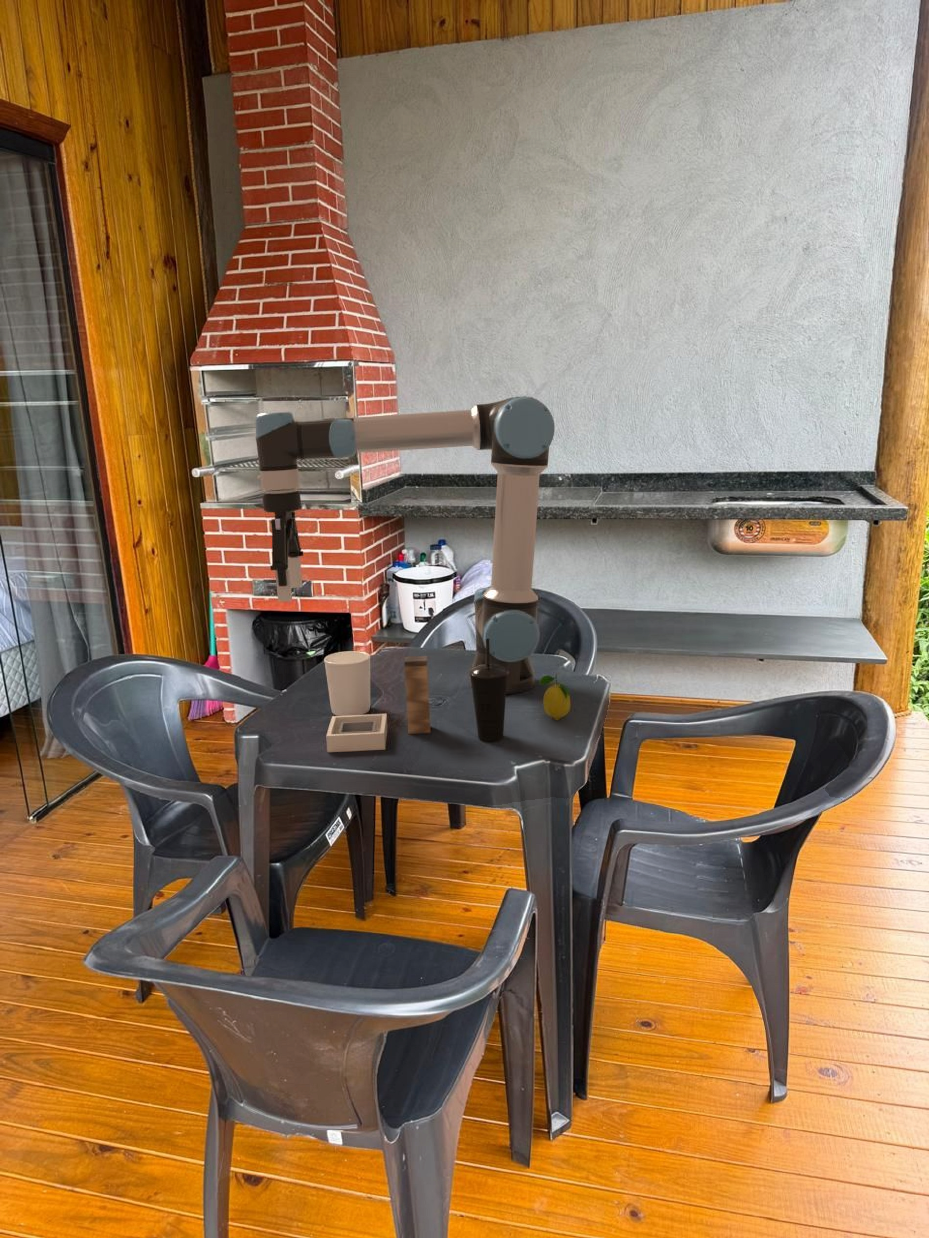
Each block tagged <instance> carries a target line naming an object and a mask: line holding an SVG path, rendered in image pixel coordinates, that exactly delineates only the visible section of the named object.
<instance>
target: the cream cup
mask: <svg viewBox="0 0 929 1238" xmlns="http://www.w3.org/2000/svg"><path fill="white" fill-rule="evenodd" d="M323 662H324V666H325V667H324V668H325V674H326V681H327V683H326V684H327V688H328V696H329V701H330V702H329V703H330V709H331V713H332V715H333V716H334V715H335V716H348V715H366V714H367V713H368V712H369V711H370V709H371V655H370V654H369V653H368V652H364V651H357V650H355V651H354V650H350V651H348V650H347V651H338V652H334V653H330V654H328V655H326V656H325V657H324V659H323Z"/></svg>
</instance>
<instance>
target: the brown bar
mask: <svg viewBox="0 0 929 1238" xmlns="http://www.w3.org/2000/svg"><path fill="white" fill-rule="evenodd" d="M403 663H404V678H405V679H404V680H405V698H406V700H405V701H406V713H407V715H406V716H407V731H408V733H407V734H413V735H414V734H431V713H430V693H429V675H428V674H429V671H428V656H427V655H419V656H418V655H417V656H416V655H415V656H405V657H404V661H403Z"/></svg>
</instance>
